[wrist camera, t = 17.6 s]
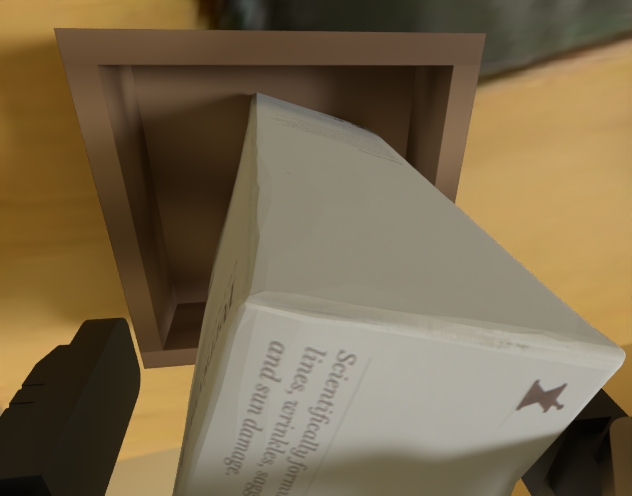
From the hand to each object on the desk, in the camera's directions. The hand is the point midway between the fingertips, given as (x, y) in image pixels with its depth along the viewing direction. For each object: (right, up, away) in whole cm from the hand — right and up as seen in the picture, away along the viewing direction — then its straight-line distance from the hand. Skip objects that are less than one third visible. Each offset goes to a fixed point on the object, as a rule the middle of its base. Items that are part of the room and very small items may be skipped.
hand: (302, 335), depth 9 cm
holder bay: (-1, +5, +10) cm, 12 cm away
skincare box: (-1, +5, +10) cm, 11 cm away
